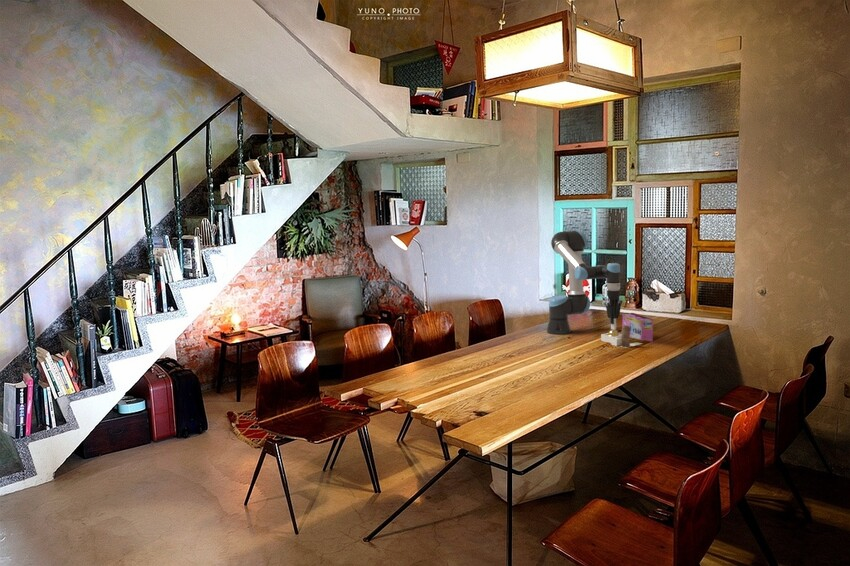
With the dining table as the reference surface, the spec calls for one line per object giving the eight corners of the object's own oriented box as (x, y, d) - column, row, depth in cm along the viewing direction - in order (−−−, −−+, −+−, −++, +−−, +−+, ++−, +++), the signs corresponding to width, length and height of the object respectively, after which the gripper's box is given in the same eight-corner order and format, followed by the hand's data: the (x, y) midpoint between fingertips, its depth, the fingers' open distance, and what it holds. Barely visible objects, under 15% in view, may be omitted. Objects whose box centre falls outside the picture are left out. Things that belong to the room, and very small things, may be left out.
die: (611, 344, 377) (611, 338, 377) (615, 343, 380) (615, 337, 379) (616, 346, 374) (616, 339, 373) (621, 345, 376) (621, 338, 376)
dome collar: (601, 341, 388) (601, 334, 387) (612, 338, 393) (612, 331, 393) (614, 343, 380) (614, 337, 379) (625, 341, 385) (625, 334, 384)
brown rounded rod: (619, 346, 373) (620, 325, 371) (625, 345, 375) (625, 324, 374) (626, 347, 369) (626, 326, 368) (631, 346, 372) (631, 325, 370)
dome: (604, 339, 387) (604, 329, 386) (612, 337, 391) (612, 327, 390) (614, 341, 381) (614, 331, 381) (622, 339, 385) (622, 329, 384)
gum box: (620, 334, 409) (620, 313, 407) (632, 333, 410) (632, 312, 408) (641, 342, 385) (641, 320, 384) (653, 341, 387) (653, 319, 385)
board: (596, 343, 387) (596, 341, 386) (614, 339, 395) (614, 337, 395) (626, 350, 368) (626, 348, 368) (644, 345, 377) (644, 343, 377)
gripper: (611, 291, 376) (611, 331, 379) (626, 289, 383) (625, 328, 386) (601, 290, 382) (601, 329, 385) (615, 288, 389) (615, 326, 392)
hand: (613, 329), depth 385 cm, fingers closed
